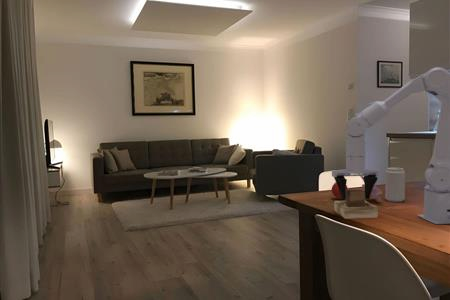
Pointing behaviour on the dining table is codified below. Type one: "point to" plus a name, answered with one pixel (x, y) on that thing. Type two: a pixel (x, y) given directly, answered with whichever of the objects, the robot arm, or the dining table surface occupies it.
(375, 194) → the lily
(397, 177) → the beverage can
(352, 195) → the walnut block
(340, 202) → the beech base
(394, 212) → the dining table surface
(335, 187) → the onion
